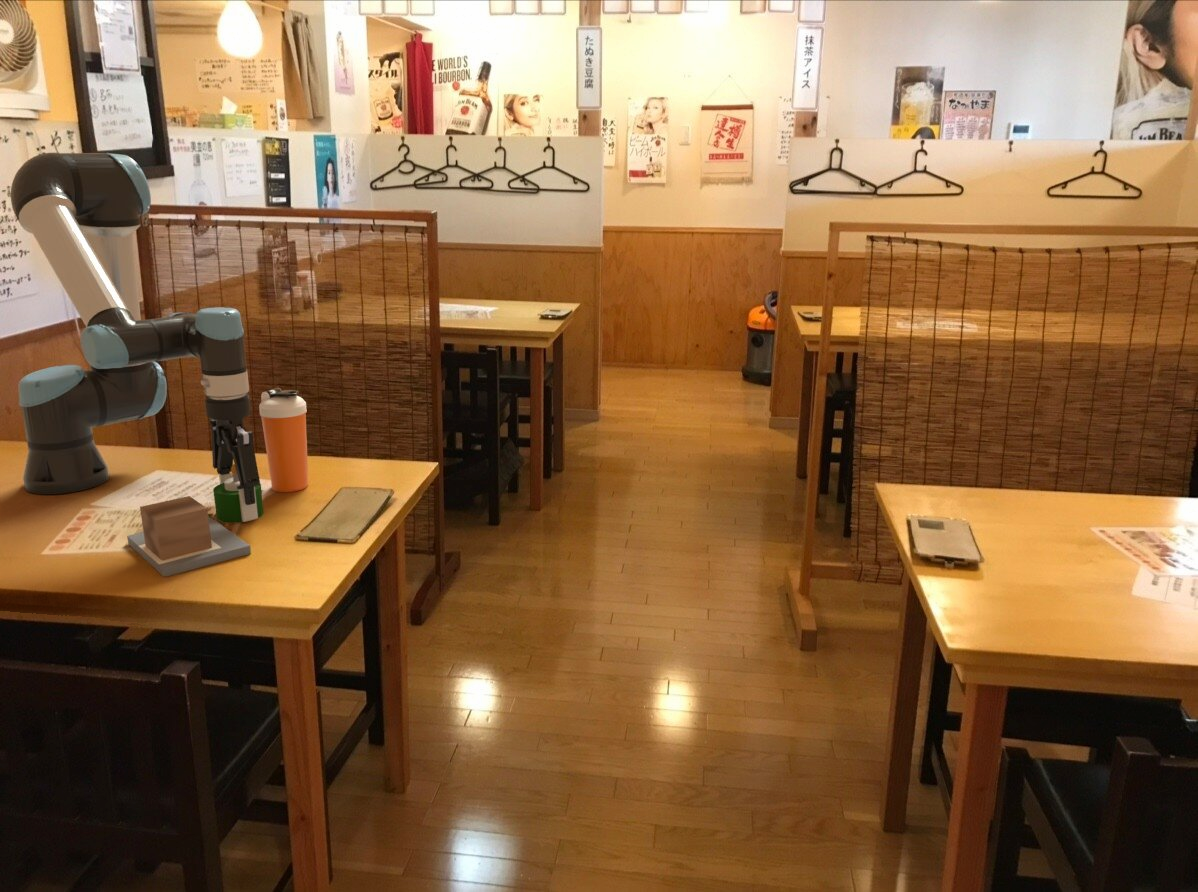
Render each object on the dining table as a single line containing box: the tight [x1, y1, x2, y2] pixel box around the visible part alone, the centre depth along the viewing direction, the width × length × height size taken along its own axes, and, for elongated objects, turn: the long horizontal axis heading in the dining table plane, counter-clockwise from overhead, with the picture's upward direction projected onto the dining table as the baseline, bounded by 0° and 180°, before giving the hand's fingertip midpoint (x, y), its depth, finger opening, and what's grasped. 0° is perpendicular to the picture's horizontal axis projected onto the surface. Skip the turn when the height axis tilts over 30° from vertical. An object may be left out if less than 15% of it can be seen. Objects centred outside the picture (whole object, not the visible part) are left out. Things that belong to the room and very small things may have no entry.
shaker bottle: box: [258, 387, 309, 493], centre depth 187 cm, size 9×9×20 cm
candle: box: [213, 463, 264, 524], centre depth 173 cm, size 8×8×10 cm
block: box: [139, 495, 212, 561], centre depth 155 cm, size 8×8×7 cm
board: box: [127, 516, 252, 578], centre depth 159 cm, size 18×14×2 cm
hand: (240, 513), depth 174 cm, fingers closed on candle, 8 cm apart
